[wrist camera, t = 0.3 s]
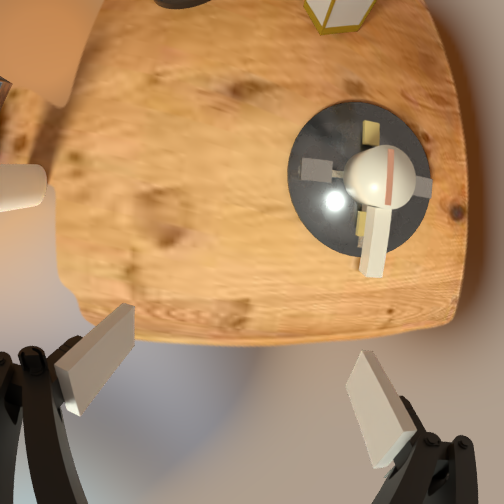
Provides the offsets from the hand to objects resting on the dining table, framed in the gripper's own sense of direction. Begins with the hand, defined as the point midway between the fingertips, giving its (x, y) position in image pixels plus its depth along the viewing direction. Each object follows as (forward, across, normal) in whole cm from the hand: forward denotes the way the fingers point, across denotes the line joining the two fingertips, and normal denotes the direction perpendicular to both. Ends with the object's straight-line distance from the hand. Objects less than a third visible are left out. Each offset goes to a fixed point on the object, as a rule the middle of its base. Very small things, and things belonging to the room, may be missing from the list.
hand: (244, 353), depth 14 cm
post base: (+28, +14, +14) cm, 34 cm away
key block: (+26, +14, +12) cm, 32 cm away
